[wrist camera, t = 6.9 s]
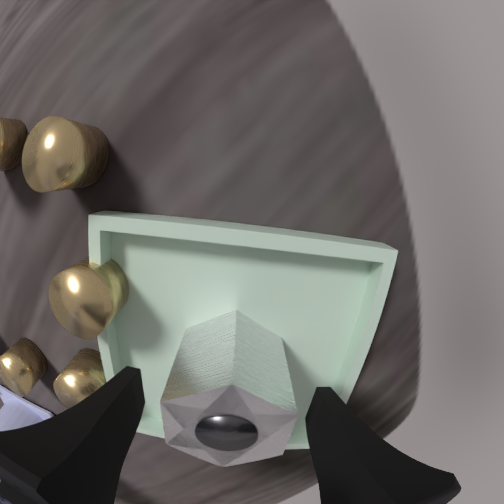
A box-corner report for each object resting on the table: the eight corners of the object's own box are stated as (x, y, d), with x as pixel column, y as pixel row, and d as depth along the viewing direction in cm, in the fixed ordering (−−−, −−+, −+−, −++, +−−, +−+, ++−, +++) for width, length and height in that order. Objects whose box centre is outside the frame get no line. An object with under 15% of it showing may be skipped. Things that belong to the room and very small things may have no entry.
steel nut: (268, 395, 14) (276, 470, 9) (186, 386, 13) (168, 460, 8) (286, 313, 12) (308, 389, 7) (187, 303, 12) (156, 374, 7)
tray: (319, 431, 15) (324, 447, 14) (125, 411, 15) (119, 426, 13) (382, 242, 12) (398, 250, 11) (104, 210, 11) (88, 214, 10)
